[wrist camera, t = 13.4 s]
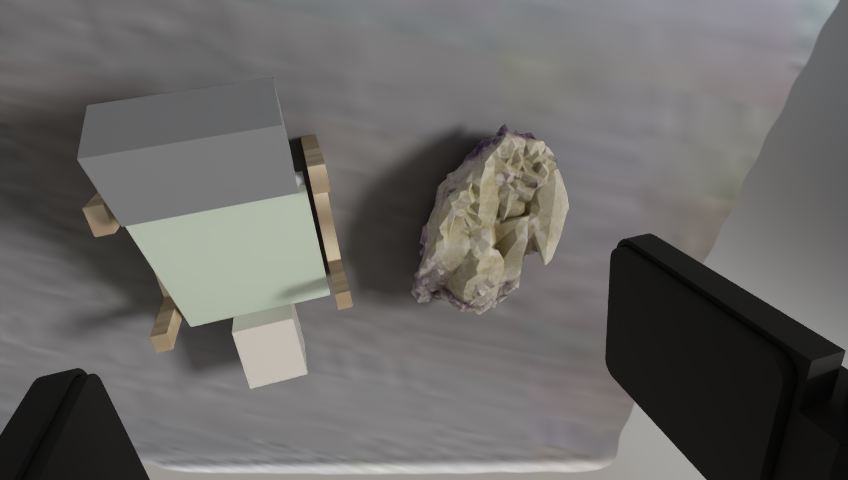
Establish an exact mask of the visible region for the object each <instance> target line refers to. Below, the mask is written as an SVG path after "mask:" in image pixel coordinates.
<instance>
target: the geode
mask: <svg viewBox="0 0 848 480" xmlns="http://www.w3.org/2000/svg"><path fill="white" fill-rule="evenodd" d="M554 157H555V156H554V154H553V153H552V152H551V150H550V149H549V148H548V147H546V146H545V144H544V142H543V141H539V140H536V139H535V137H534V135H533V134H532V133H526V134H519V133H518V132H517V131H515V133H514V134H513V133H511V132H510V131H509V129H508V128H507V126H506V124H505V125H503V126H502V127H501V128H500V129H499V131H498V132H497V133H496V134H495V135H494V136H493V137H491V138H490V139H487V138H484V139H483V140H482V141H480V142H479V143H478V144H477V145H476V147H475V148H474V149H473V151H472V152H471V153H470V154H468V155H467V156H465V159H464V162H463V164H461V165H460V166H459V167H458V169H457V170H455V171H454V172H452V173H449V174H447V178H446V179H445V180H444V181H443V182H442V183H441V184H440V185H439V186H438V190H437V195H436V202H435V206H434V208H433V210H432V212H431V215H430V218H429V221H428V223H427V225H425V226H423V229H422V236H421V240H420V243H422V245H423V246H424V247H423V248H422V249H421V250H420V251H419V252H420V255H421V256H423V257H422V261H421V263H420V265H419V271H418V272H416V273H415V274H414V276H415V279H416V282H415V283H414V284H413V289H412V291H411V293H412V295H413V296H414V297H415V298H416V300H417V301H418V302H419V303H426V302H429V300H430V299H431V298H432V297H434V298H436V299H442V300H444V301H446V302H450V303H451V304H452V306H453V307H457V308H458V310H459V311H464V312H472V313H476V314H478V315H480V314H481V313H483V312H484V311H486V310H487V309H489V308H490V307H494V308H496V307H495V306H496V304H497V303H499V302H501V301H503V300H504V299H505V298H506V297H507V295H505V294H506V293H510V292H511V290H514V289H518V288H519V281H520V275H521V266H522V263H523V260H524V258H525V257H526V256H527V255H529V254H534V253H535V252H539V254H540V257H541V258H542V260H543V262H544V264H545V265H546V264H547V263H548V262H549V261H550V260H551V259H552V257H553V254H554V251H555V249H556V246H557V244H558V241H559V239H560V236H561V232H562V228H563V224H564V220H565V216H566V214H567V211H568V209H569V204H568V198H567V193H566V190H565V186H564V183H563V180H562V178H561V175H560V172H559V171H558V168H557V166H556V162H557V160H554V161H553V159H554Z"/></svg>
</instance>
